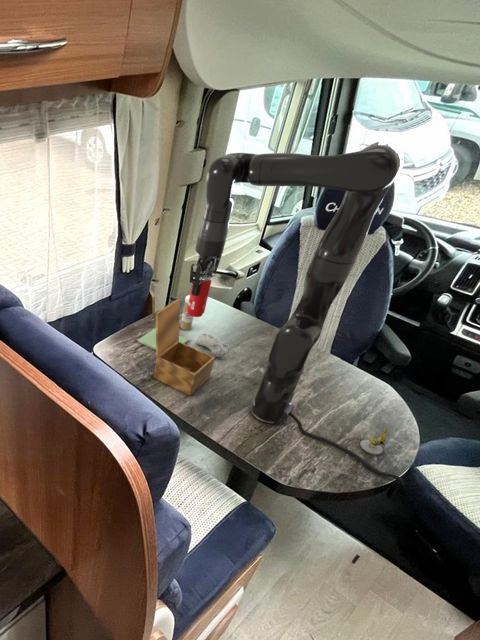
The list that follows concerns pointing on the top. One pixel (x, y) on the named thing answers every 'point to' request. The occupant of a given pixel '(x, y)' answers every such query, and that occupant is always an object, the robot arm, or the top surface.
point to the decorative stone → (212, 344)
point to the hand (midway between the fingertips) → (199, 291)
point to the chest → (183, 367)
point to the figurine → (374, 444)
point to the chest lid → (167, 326)
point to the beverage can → (199, 298)
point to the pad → (151, 339)
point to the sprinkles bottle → (186, 316)
